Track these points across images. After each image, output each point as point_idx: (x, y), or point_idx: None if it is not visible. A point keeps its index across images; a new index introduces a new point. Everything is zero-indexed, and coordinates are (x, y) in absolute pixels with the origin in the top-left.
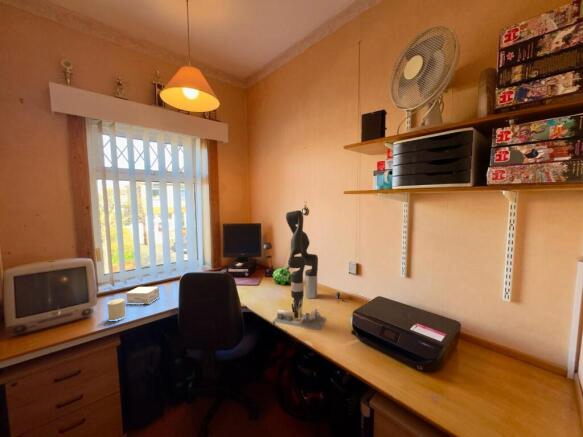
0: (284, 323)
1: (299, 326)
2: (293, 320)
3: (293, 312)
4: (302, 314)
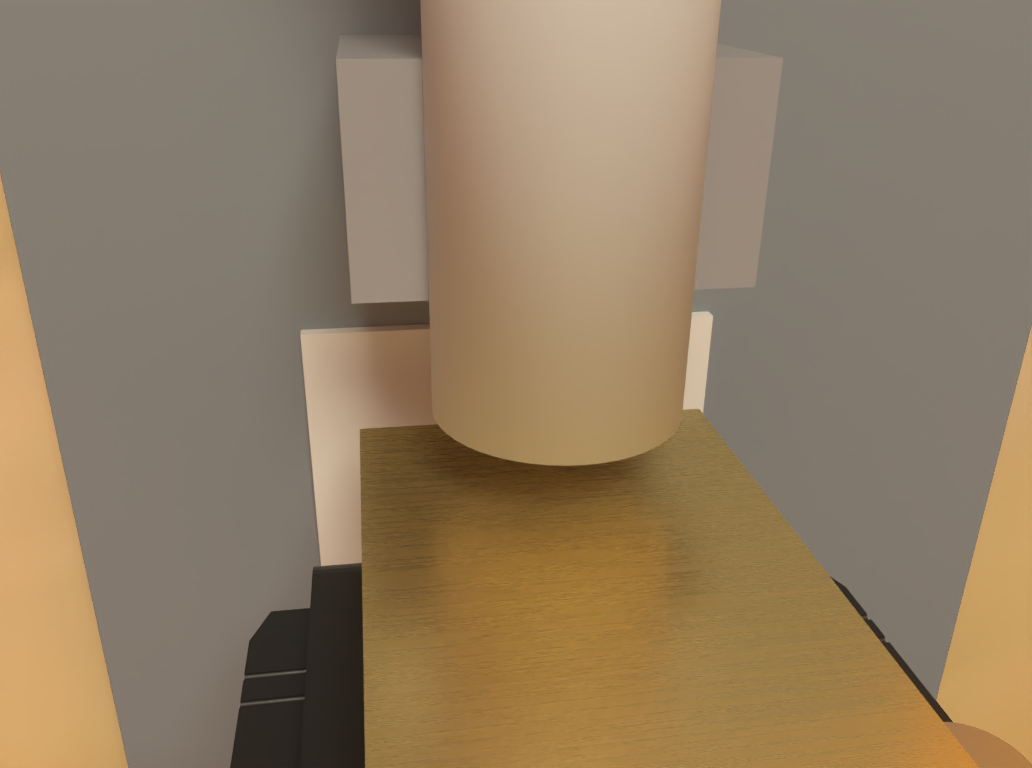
0: (2, 91)
1: (122, 704)
2: (415, 372)
3: (366, 655)
4: (978, 467)
